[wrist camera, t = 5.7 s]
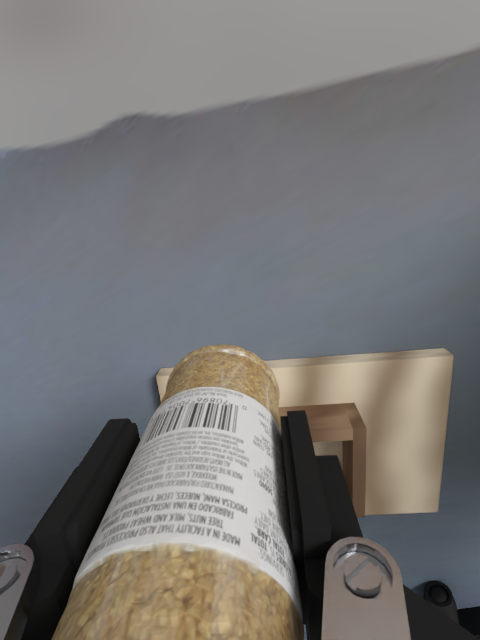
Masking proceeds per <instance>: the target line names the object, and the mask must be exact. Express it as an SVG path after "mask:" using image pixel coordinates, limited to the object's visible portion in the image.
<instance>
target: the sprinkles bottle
mask: <svg viewBox="0 0 480 640" xmlns="http://www.w3.org/2000/svg"><path fill="white" fill-rule="evenodd" d="M279 399H280V392H279V386H278V383H277V380H276V378H275V375H274V373H273V371H272V369H270V368H269V367H268V365H267V364H266V363H265V362H264V361H263V360H262V359H260V358H259V357H258V356H256V355H255V354H254V353H252V352H249V351H247V350H246V349H243V348H240V347H238V346H231V345H215V346H213V345H210V346H206V347H202V348H200V349H197V350H195V351H193V352H191V353H189V354H187V355H186V356H185V357H184V358H183V359H182V360H181V361H180V362H179V363H178V364H177V365H176V366H175V367H174V369H173V371H172V373H171V374H170V376H169V379H168V382H167V386H166V393H165V395H164V397H163V399H162V401H161V403H160V406H159V407H158V408H157V410H156V411H155V412H154V414H153V415H152V417H151V419H150V421H149V423H148V425H147V427H146V429H145V431H144V434H143V436H142V438H141V440H140V442H139V444H138V446H137V448H136V450H135V452H134V454H133V456H132V458H131V460H130V462H129V465H128V467H127V469H126V471H125V473H124V475H123V477H122V479H121V481H120V483H119V485H118V487H117V489H116V491H115V494H114V496H113V498H112V500H111V502H110V504H109V506H108V508H107V510H106V513H105V515H104V517H103V519H102V521H101V523H100V526H99V528H98V530H97V532H96V534H95V536H94V538H93V540H92V542H91V544H90V546H89V548H88V550H87V552H86V555H85V557H84V559H83V561H82V563H81V566H80V568H79V570H78V572H77V575H76V577H75V580H74V584H73V588H72V591H71V594H70V597H69V600H68V603H67V606H66V608H65V610H64V612H63V615H62V617H61V619H60V621H59V623H58V626H57V628H56V630H55V633H54V635H53V637H52V639H51V640H304V626H303V616H302V607H301V598H300V589H299V580H298V573H297V569H296V566H295V563H294V559H293V549H292V539H291V529H290V519H289V509H288V499H287V489H286V479H285V468H284V458H283V448H282V437H281V431H280V423H279V413H278V406H279Z"/></svg>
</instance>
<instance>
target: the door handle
mask: <svg viewBox="0 0 480 640" xmlns="http://www.w3.org/2000/svg"><path fill="white" fill-rule="evenodd" d="M424 600H425V601H427V602H428V603H430V604H431V605H432V606H434V607H435V608H437V609H438V610H439V611H441V612H442V613H443V614H445V615H446V616H448V617H449V618H450V619H452V620H453V621H455V622H456V623H457V624H459V625H460V626H462V627H463V628H464V629H466V630H467V631H469V632H470V633H471V634H473V635H474V636H476V637H477V638H478V639H480V606H479V607H472V608H465V609H458V610H457V607H456V602H455V599H454V597H453V595H452V592H451V590H450V589H449V588H448V587H447V586H446V585H445V584H443V583H441V582H438V581H432V582H429V583H428V584H427V585H426V587H425V593H424Z"/></svg>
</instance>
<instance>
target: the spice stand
mask: <svg viewBox="0 0 480 640" xmlns="http://www.w3.org/2000/svg"><path fill="white" fill-rule="evenodd" d="M453 359H454V355H452V354H451V353H450V352H449V351H447V350H446V349H445V348H438V349H424V350H410V351H396V352H382V353H368V354H354V355H340V356H326V357H313V358H299V359H285V360H271V361H264V362H265V363H266V364H267V365H268V367H269V368H270V369H272V371H273V373H274V375H275V378H276V380H277V383H278V386H279V392H280V399H279V406H278V413H279V423H280V431H281V419H280V416H287V411H299V410H305V411H306V415H307V420H308V424H309V429H310V433H311V438H312V442H313V447H314V451H315V456H323V455H337V456H338V459H339V461H340V464H341V468H342V471H343V474H344V477H345V481H346V484H347V487H348V490H349V494H350V497H351V500H352V503H353V507H354V510H355V513H356V516H357V517H365V515H379V514H403V513H428V512H438V505H439V495H440V486H441V476H442V466H443V457H444V447H445V437H446V427H447V418H448V408H449V398H450V388H451V379H452V369H453ZM173 369H174V367H173V368H160V370H159V372H158V374H157V376H156V379H157V384H158V389H159V394H160V400H161V401H162V399H163V397H164V395H165V393H166V386H167V382H168V379H169V376H170V374H171V373H172V371H173Z"/></svg>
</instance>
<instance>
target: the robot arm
mask: <svg viewBox="0 0 480 640" xmlns="http://www.w3.org/2000/svg"><path fill="white" fill-rule="evenodd" d="M280 419H281V437H282V448H283V458H284V468H285V479H286V489H287V499H288V509H289V519H290V529H291V539H292V549H293V559H294V563H295V566H296V569H297V573H298V580H299V589H300V598H301V607H302V616H303V624H306V633H307V640H480V639H478V638H477V637H476V636H474V635H473V634H471V633H470V632H469V631H467V630H466V629H464V628H463V627H462V626H460V625H459V624H457V623H456V622H455V621H453V620H452V619H450V618H449V617H448V616H446V615H445V614H443V613H442V612H441V611H439V610H438V609H437V608H435V607H434V606H432V605H431V604H430V603H428V602H427V601H425V600H424V599H423V598H421V597H420V596H418V595H417V594H416V593H414V592H413V591H411V590H410V589H409V588H407V587H406V586H405V585H403V583H402V576H401V573H400V570H399V567H398V564H397V563H396V561H395V560H394V558H393V557H392V555H391V554H390V553H389V552H388V551H387V550H386V549H385V548H383V547H382V546H381V545H379V544H377V543H375V542H374V541H372V540H369V539H365V538H363V536H362V533H361V529H360V526H359V523H358V520H357V516H356V513H355V510H354V507H353V503H352V500H351V497H350V494H349V490H348V487H347V484H346V481H345V477H344V474H343V471H342V468H341V464H340V461H339V459H338V456H337V455H323V456H315V451H314V447H313V442H312V438H311V433H310V429H309V424H308V420H307V415H306V411H305V410H299V411H287V416H280ZM139 442H140V438H139V433H138V428H137V425H136V424H135V423H131V421H130V419H111V420H109V421H108V422H107V424H106V425H105V427H104V428H103V430H102V431H101V433H100V434H99V436H98V437H97V439H96V440H95V442H94V444H93V445H92V447H91V448H90V450H89V451H88V453H87V454H86V456H85V457H84V459H83V460H82V462H81V463H80V465H79V466H78V467H77V468H76V469H75V470H74V471H73V473H72V474H71V476H70V477H69V479H68V480H67V482H66V483H65V485H64V486H63V488H62V489H61V491H60V492H59V494H58V495H57V497H56V498H55V500H54V501H53V503H52V504H51V506H50V507H49V509H48V510H47V512H46V513H45V515H44V516H43V518H42V519H41V521H40V522H39V524H38V525H37V527H36V528H35V530H34V531H33V533H32V534H31V536H30V537H29V539H28V540H27V542H26V543H25V545H23V544H13V545H8V546H5V547H2V548H0V640H51V639H52V637H53V635H54V633H55V630H56V628H57V626H58V623H59V621H60V619H61V617H62V615H63V612H64V610H65V608H66V606H67V603H68V600H69V597H70V594H71V591H72V588H73V584H74V580H75V577H76V575H77V572H78V570H79V568H80V566H81V563H82V561H83V559H84V557H85V555H86V552H87V550H88V548H89V546H90V544H91V542H92V540H93V538H94V536H95V534H96V532H97V530H98V528H99V526H100V523H101V521H102V519H103V517H104V515H105V513H106V510H107V508H108V506H109V504H110V502H111V500H112V498H113V496H114V494H115V491H116V489H117V487H118V485H119V483H120V481H121V479H122V477H123V475H124V473H125V471H126V469H127V467H128V465H129V462H130V460H131V458H132V456H133V454H134V452H135V450H136V448H137V446H138V444H139Z"/></svg>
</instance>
